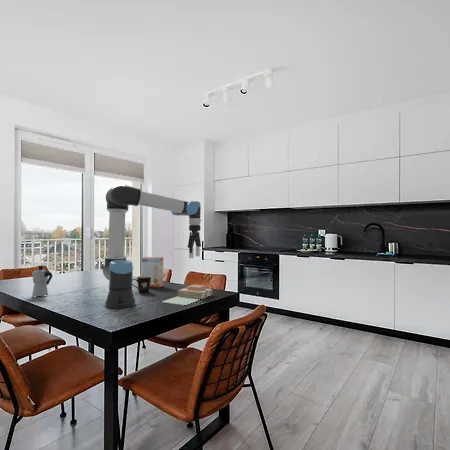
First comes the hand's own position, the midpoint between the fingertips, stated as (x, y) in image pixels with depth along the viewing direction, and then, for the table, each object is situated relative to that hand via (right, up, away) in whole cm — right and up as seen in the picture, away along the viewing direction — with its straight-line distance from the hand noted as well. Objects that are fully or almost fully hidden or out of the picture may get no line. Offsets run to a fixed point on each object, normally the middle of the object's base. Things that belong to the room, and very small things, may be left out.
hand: (194, 257), depth 198 cm
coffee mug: (-33, -22, -5) cm, 41 cm away
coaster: (+2, -18, -13) cm, 23 cm away
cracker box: (-31, -23, +15) cm, 42 cm away
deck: (+2, -22, -14) cm, 26 cm away
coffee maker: (-89, -21, -19) cm, 94 cm away
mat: (-5, -22, -28) cm, 36 cm away
